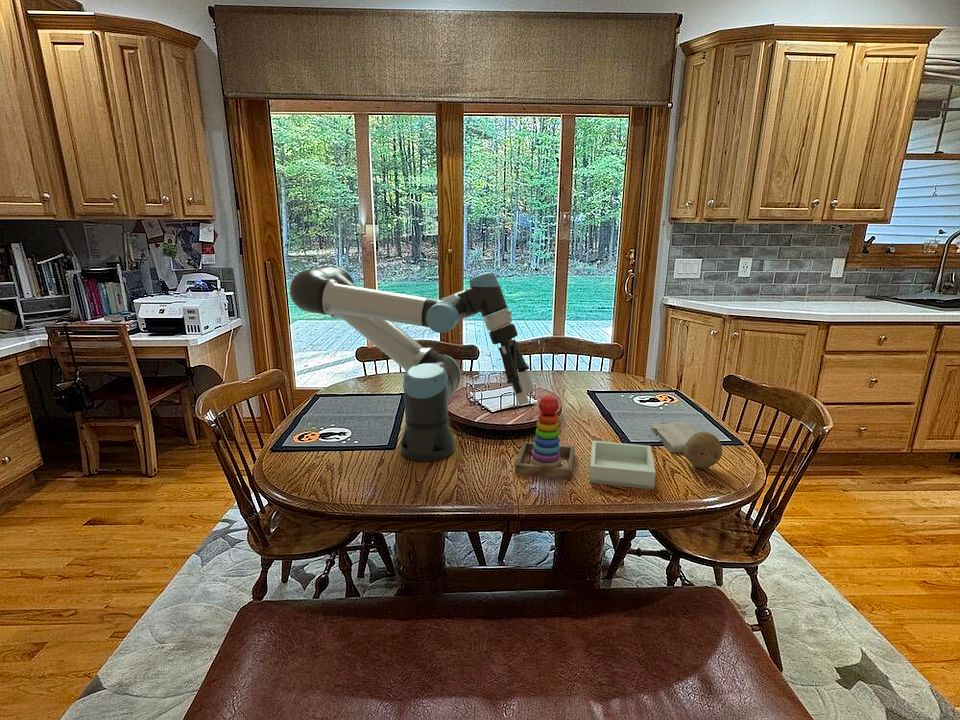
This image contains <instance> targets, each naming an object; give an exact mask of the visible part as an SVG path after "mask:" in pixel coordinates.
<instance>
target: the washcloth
mask: <svg viewBox="0 0 960 720" xmlns="http://www.w3.org/2000/svg"><path fill="white" fill-rule="evenodd" d="M651 428H652V429H651ZM650 429H651V431H652V430H654V431H653V433H656V434H657V435H658V436H659V438H660V439H661V441H662V442H663V443H662V442H661V441H660V442H661V443H662V445H663V444H664V445H663V446H664V447H665V448H666V449H667V450H668V451H669V452H670V453H674V454H675V453H676V454H677V453H679V454H680V453H682V454H684V446H685V444H686V443H687V441H688V440H689V439H690V437H691V436H693V435H694V434H696V433H698V431H697V430H696V429H694V427H692V425H691V424H689V423H688V422H687V421H685V422H684V421H682V422H681V421H680V422H661V421H660V422H653V423H652V424H651V426H650Z"/></svg>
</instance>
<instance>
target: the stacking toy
mask: <svg viewBox="0 0 960 720" xmlns="http://www.w3.org/2000/svg"><path fill="white" fill-rule="evenodd" d="M559 406H560V403H559V401H558V399H557V398H556V397H555V396H553V395H545V396H542V397H541V398H540V400H539V402H538V408H539V411H540V412H541V413H539V414H538V416H537V417H538V419H537V420H538V421H537V422H536V429H535V434H536V435H534V438H533V439H534V444H533V449H532V452H530V454H531V456H530V463H531V464H533V465H543V466H552V467H561V464H562V459H561V455H560V451H559V450H560V445H561V444H560V441H561V439H560V436H559V435H560V431H559V424H558V420H559V416H558V414H556V413H557V412H558V410H559Z"/></svg>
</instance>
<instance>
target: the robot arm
mask: <svg viewBox="0 0 960 720" xmlns="http://www.w3.org/2000/svg"><path fill="white" fill-rule="evenodd" d="M468 282H469V286H468V287H467V288H465V289H463V290H460V291H457V292H454V293H452V294H450V295H448V296H447V295H446V296H444V297H442V298H440V299H437V298H436V299H435V298H430V297H429V298H428V297H423V296H418V295H417V296H416V295H411V294H405V293H397V292H390V291H385V290H378V289H372V288H367V287H366V288H365V287H360V286H357V285H356V284H355V282H354V279H353V276H352V275H351V273H349V271H348V270H347V269H345V268H343V267H341V266H337V265H322V266H320V267H318V268H317V267H316V268H311V269H306V270H303V271H300V272H299V273H298V274H296V275H295V276H294V277H293V279H292V281H291V282H290V286H289V293H290V298H291V301H292V302H293V303H294V304H295V306H296V307H298V308H299V309H300V310H302V311H304V312H307V313H310V314H320V315H325V316H331V318H332V319H335V320H336V319H342V320H344V321H345V322H346V323H347V324H348V325H349V326H351V327H352V328H353V329H355V331H356V332H358V333H359V334H360V335H362V336H363V337H365V338H366V339H367V340H368V341H369V342H370V343H372V344H373V345H374V346H375V347H376V348H378V349H379V351H382V352H383V354H385V355H386V356H388V357H389V358H390V359H391V360H392V361H394V362H395V363H396V364H397V365H398V366H399V367H400V368H402V369H403V370H404V371H405V372H404V375H403V382H402V387H403V397H404V398H403V399H404V417H405V418H404V420H405V427H404V428H403V429H404V430H403V433H402V436H401V441H400V443H399V444H400V446H399V447H400V448H399V449H400V454H401V456H403V457H404V458H405V457H406V459H407V458H408V460H410V459H411V460H410V461H415V462H421V463H422V462H436V461H441V460H442V459H443V460H444V459H446V458H448V457H450V456H452V455H453V454H454V452H455V450H456V445H455V444H456V442H455V441H456V440H455V438H454V436H453V432H452V429H451V427H450V424H449V407H448V406H449V405H448V402H449V399H450V398H451V397H452V395H454V392H455V391H456V390H457V389H458V387H459V384H460V382H461V378H462V373H461V367H460V365H459V364H458V362H457V361H456V360H455V359H454V358H453V357H452V356H451V355H450V356H449V355H446V354H440V353H438V351H436V349H434V348H433V347H424V346H422V345H421V344H419V342H418V341H416V340H415V339H414V338H413V337H411V336H410V335H409V334H408V333H407V332H406V331H404V330H403V329H401V327H399V326H398V325H397V324H396V323H400V324H406V325H413V326H417V327H424V328H425V327H426V328H429V329H430V330H431V331H433V332H435V333H438V334H445V333H448V332H450V331H452V330H454V329H455V328H456V327H457V325H458V324H460V323H461V322H462V320H465V319H467V318H468V317H471V316H473V315H477V314H479V313H480V314H481V317H482V319H483V322H484V325H485V327H486V330H487V331H489V333H488V335H489V338H490V340H491V343H492V344H493V345H498V344H500V346H499V347H498V351H499V353H500V355H501V360H502V363H503V366H504V367H503V368H504V371H505V375H506V379H507V380H506V383H507V384H511V385H510V386H511V387H512V390H513V393H514V395H515V398H516V400H517V404H518V406H522V405H525V404H529V403H530V401H529V397H528V394H531V393H533V392H535V391H536V390H535V387H534V385H533V382H532V379H531V377H530V374H529V372H528V370H529V369H530V366H529V365H528V364H527V363H526V361H525V359H524V357H523V355H522V352H521V350H520V349H519V347H518V344H517V342H516V340H515V338H516V337H518V335H519V334H518V331H517V328H516V326H515V324H514V323H512V322H513V318H512V314H513V312H512V311H511V310H509V307H508V305H507V302H506V299H505V296H504V294H503V291H502V289H501V285H500V284H499V281H498V280H497V276H496V274H495V272H493V271H488V272H485V273H481V274H479V275H478V274H477V276H474V277H472V278H470V279H469V281H468Z"/></svg>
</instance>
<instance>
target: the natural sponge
mask: <svg viewBox="0 0 960 720" xmlns="http://www.w3.org/2000/svg"><path fill="white" fill-rule="evenodd" d="M697 432H698V431H697ZM722 446H723V445H722V443H721V441H720V440H719V439H718V438H717V436H716V435H714V434H713V433H710V432H707V431H699V432H698V433H696V434H694V435H693V436H691V437H690V439H689V440H688V441H687V443H686V444H685V446H684V453H683V455H684V457H685V458H686V459H687V460H688V461H689V462H690V463H691V464H692V465H693V466H694V467H696V468H697V469H699V470H706V469H708V468H710V467H712V466H714V465H716V464H717V463H718V462H719V461H720V460H721V459H722V456H723V447H722Z"/></svg>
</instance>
